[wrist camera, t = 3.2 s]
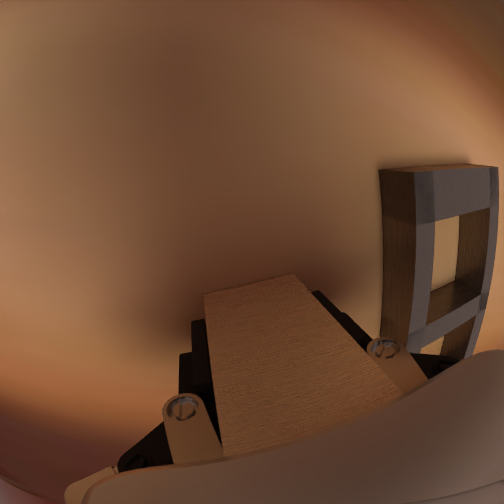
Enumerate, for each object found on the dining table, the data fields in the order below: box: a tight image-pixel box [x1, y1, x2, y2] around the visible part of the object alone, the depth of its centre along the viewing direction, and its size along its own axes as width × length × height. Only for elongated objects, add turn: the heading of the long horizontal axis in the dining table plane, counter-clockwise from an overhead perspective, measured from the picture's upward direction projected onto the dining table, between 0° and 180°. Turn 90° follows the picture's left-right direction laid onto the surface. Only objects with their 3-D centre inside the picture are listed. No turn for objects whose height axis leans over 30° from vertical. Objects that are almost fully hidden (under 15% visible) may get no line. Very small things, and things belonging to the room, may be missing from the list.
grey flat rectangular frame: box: [379, 164, 499, 361], centre depth 15 cm, size 24×8×2 cm, turn 10°
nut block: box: [203, 273, 403, 457], centre depth 9 cm, size 4×4×8 cm
